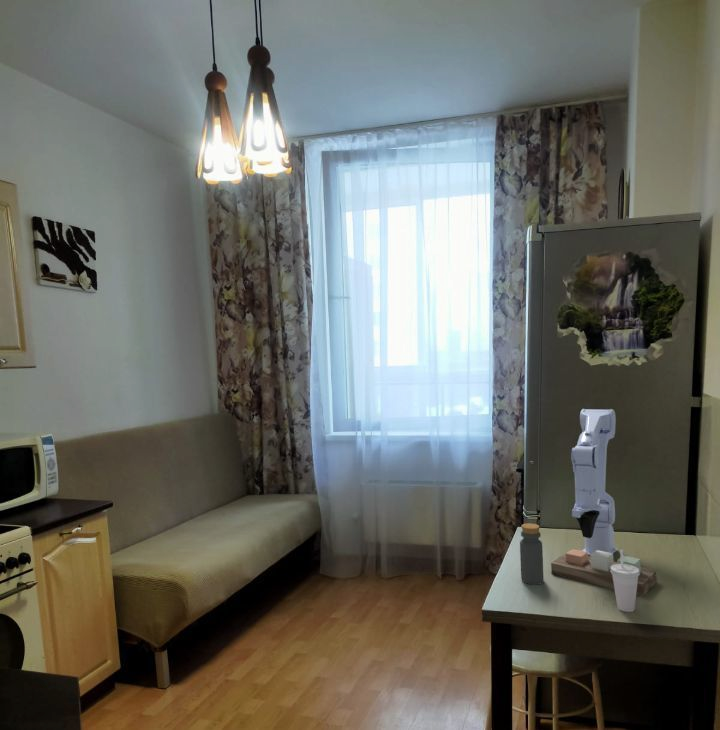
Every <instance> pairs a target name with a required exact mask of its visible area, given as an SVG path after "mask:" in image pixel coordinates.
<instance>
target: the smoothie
mask: <svg viewBox="0 0 720 730" xmlns="http://www.w3.org/2000/svg"><path fill="white" fill-rule="evenodd" d="M623 556H624V550H623V549H620V558H621V564H614V565H612V566H611V567H610V568H611V570H610V571H611V573H612V576H613V582H614V588H615V589H614V593H615V594H614V595H615V599H616V606H617V607H616V608H617V609H618V610H619V611H622V612H625V613H631V612H634V611H635V610H636V599H637V594H636V591H637V582H638V576H639V575H640V573H639V569H638V568H637V567H635V566H632V565H628V564H623Z"/></svg>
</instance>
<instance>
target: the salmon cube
mask: <svg viewBox="0 0 720 730" xmlns="http://www.w3.org/2000/svg"><path fill="white" fill-rule="evenodd" d="M565 553H566V562H568V563H572V564H576V565H581V566H583V565H584V564H585V563H587V562H588V556H589V555H588V552H584V551H582V550H579V549H573V548H572V549H570V550H569V551H567V552H565Z"/></svg>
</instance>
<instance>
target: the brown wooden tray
mask: <svg viewBox="0 0 720 730" xmlns="http://www.w3.org/2000/svg"><path fill="white" fill-rule="evenodd" d="M566 553H567V552H565V553H564V554H562V555H561V556H559V557H558V558H556V559H555V560H553V561H552V562H551V563H550V565H551V567H550V568H551V574H552V575H555V574H556V575H555V576H559V575H561V576H560V577H563V576H564V577H563V578H569V579H571V578H572V580H576V581H580V582H583V583H584V582H585V583H588V584H593V585H596V586H601V587H605V588H608V589H613V590H615V588H614V582H613V576H612V573H611V571H609V572H607V571H603V570H598V569H594V568H591V556H590V555H588V562H587V563H585V564H584V565H583V566H581V565H576V564H572V563H568V562H566ZM613 563H614V564H617V561H613ZM657 579H658V577H657V570H654V569H650V568H646V567H641V574H640V575H639V576H638V582H637V591H636V596H637V595H638V596H640V597H641V596H642V597H644V596H645V595H646V594H647V593H648V592H649V591H650V590H651V589H652V588H651V587H654V585H656V583H658V582H657ZM650 588H651V589H650ZM649 589H650V590H649ZM648 590H649V591H648ZM647 591H648V592H647Z"/></svg>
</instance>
